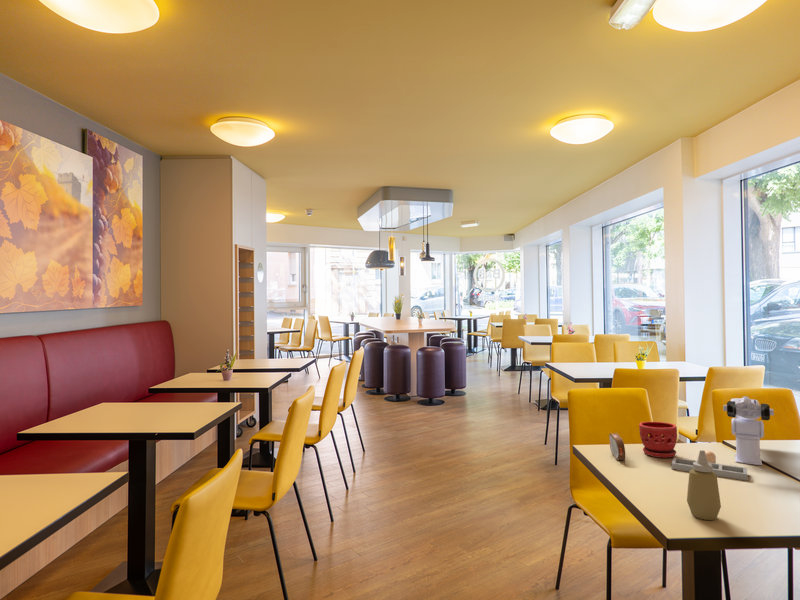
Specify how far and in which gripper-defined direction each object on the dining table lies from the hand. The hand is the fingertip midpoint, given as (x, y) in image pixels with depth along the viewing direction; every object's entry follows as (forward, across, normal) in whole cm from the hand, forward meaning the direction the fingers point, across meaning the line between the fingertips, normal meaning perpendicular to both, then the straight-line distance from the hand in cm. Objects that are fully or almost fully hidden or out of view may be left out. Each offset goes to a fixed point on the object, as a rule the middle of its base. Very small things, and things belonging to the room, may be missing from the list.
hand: (748, 412), depth 165 cm
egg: (-11, -12, +21) cm, 26 cm away
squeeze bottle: (+44, -12, +26) cm, 52 cm away
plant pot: (-13, -29, +21) cm, 38 cm away
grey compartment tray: (0, -12, +22) cm, 25 cm away
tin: (-1, -42, +22) cm, 47 cm away
